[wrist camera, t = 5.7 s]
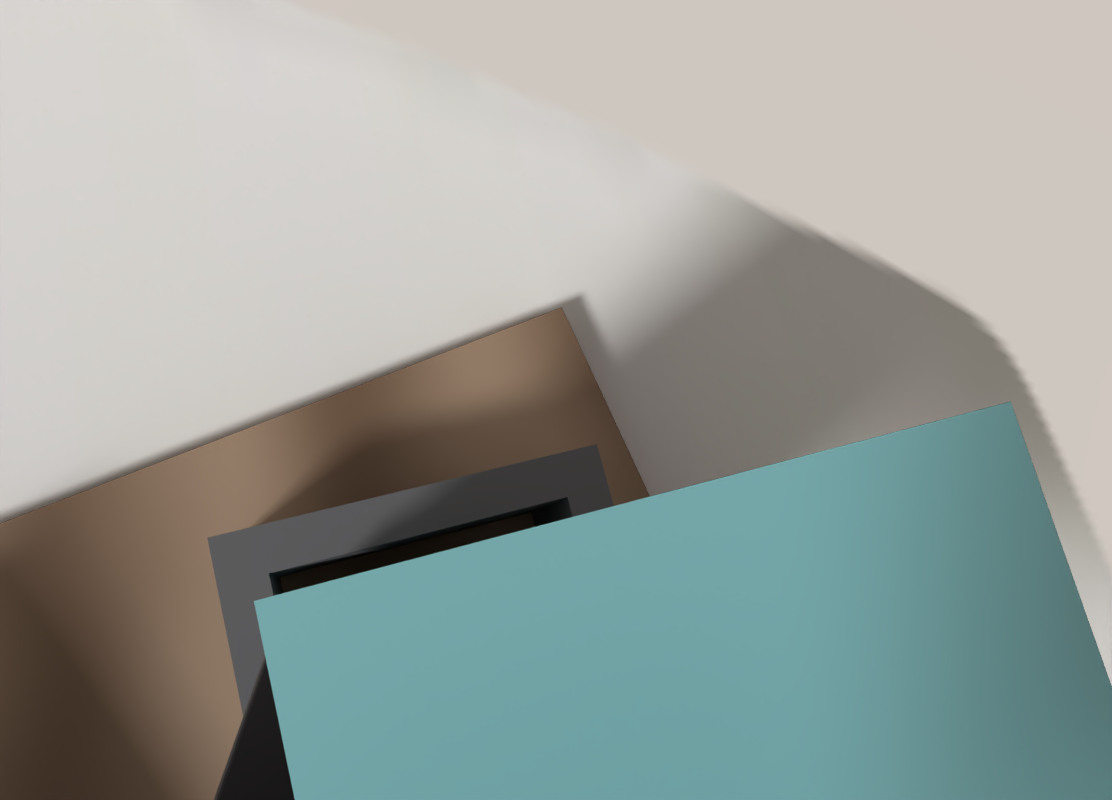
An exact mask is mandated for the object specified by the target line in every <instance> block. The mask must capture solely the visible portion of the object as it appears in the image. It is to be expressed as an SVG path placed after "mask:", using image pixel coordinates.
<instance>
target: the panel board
mask: <svg viewBox="0 0 1112 800" xmlns="http://www.w3.org/2000/svg"><path fill="white" fill-rule="evenodd" d="M595 444H597V447H598V450H599V454H600V457H601V461H602V465H603V468H604V472H605V476H606V479H607V483H608V487H609V490H610V494H611V498H612V501H613V505H614V506H616V505H620V504H624V503H628V502H631V501H635V500H639V499H643V498H647V497H650V496H649V494H648V492H647V489H646V487H645V485H644V483H643V481H642V479H641V477H640V474H639V472H638V470H637V468H636V466H635V464H634V462H633V459H632V457H631V455H630V453H629V451H628V449H627V447H626V444H625V442H624V440H623V438H622V436H621V434H620V432H619V429H618V427H617V425H616V423H615V421H614V419H613V416H612V414H611V412H610V410H609V408H608V406H607V404H606V401H605V399H604V397H603V395H602V393H601V391H600V389H599V386H598V384H597V382H596V380H595V378H594V376H593V374H592V371H591V369H590V367H589V365H588V363H587V361H586V359H585V356H584V354H583V352H582V350H581V348H580V346H579V343H578V341H577V339H576V337H575V335H574V333H573V331H572V328H571V326H570V324H569V322H568V320H567V318H566V316H565V313H564V311H563V309H562V308H559V309H556V310H554V311H551V312H549V313H546V314H543V315H541V316H538V317H536V318H533V319H530V320H528V321H525V322H523V323H520V324H517V325H515V326H512V327H510V328H507V329H504V330H502V331H499V332H497V333H494V334H491V335H489V336H486V337H484V338H481V339H478V340H476V341H473V342H471V343H468V344H465V345H463V346H460V347H458V348H455V349H453V350H450V351H447V352H445V353H442V354H440V355H437V356H434V357H432V358H429V359H427V360H424V361H421V362H419V363H416V364H414V365H411V366H408V367H406V368H403V369H401V370H398V371H395V372H393V373H390V374H388V375H385V376H382V377H380V378H377V379H375V380H372V381H369V382H367V383H364V384H362V385H359V386H356V387H354V388H351V389H349V390H346V391H343V392H341V393H338V394H336V395H333V396H330V397H328V398H325V399H323V400H320V401H317V402H315V403H312V404H310V405H307V406H304V407H302V408H299V409H297V410H294V411H291V412H289V413H286V414H284V415H281V416H278V417H276V418H273V419H271V420H268V421H265V422H263V423H260V424H258V425H255V426H252V427H250V428H247V429H245V430H242V431H239V432H237V433H234V434H232V435H229V436H226V437H224V438H221V439H219V440H216V441H213V442H211V443H208V444H206V445H203V446H200V447H198V448H195V449H193V450H190V451H187V452H185V453H182V454H180V455H177V456H174V457H172V458H169V459H167V460H164V461H161V462H159V463H156V464H154V465H151V466H148V467H146V468H143V469H141V470H138V471H135V472H133V473H130V474H128V475H125V476H122V477H120V478H117V479H115V480H112V481H109V482H107V483H104V484H102V485H99V486H96V487H94V488H91V489H89V490H86V491H83V492H81V493H78V494H76V495H73V496H70V497H68V498H65V499H63V500H60V501H57V502H55V503H52V504H50V505H47V506H44V507H42V508H39V509H37V510H34V511H31V512H29V513H26V514H24V515H21V516H18V517H16V518H13V519H11V520H8V521H5V522H3V523H0V800H214V798H215V795H216V792H217V789H218V786H219V783H220V781H221V778H222V775H223V772H224V769H225V766H226V764H227V761H228V758H229V755H230V752H231V749H232V747H233V744H234V741H235V738H236V735H237V732H238V730H239V727H240V724H241V721H242V718H243V713H242V708H241V703H240V698H239V693H238V688H237V683H236V678H235V674H234V669H233V664H232V659H231V654H230V649H229V644H228V639H227V634H226V629H225V624H224V619H223V614H222V609H221V604H220V599H219V594H218V589H217V584H216V579H215V574H214V569H213V564H212V559H211V554H210V549H209V544H208V539H207V538H208V537H212V536H216V535H220V534H224V533H228V532H233V531H237V530H241V529H245V528H249V527H253V526H258V525H262V524H266V523H270V522H274V521H278V520H283V519H287V518H291V517H295V516H299V515H303V514H308V513H312V512H316V511H320V510H324V509H328V508H333V507H337V506H341V505H345V504H349V503H353V502H358V501H362V500H366V499H370V498H374V497H378V496H383V495H387V494H391V493H395V492H399V491H403V490H408V489H412V488H416V487H420V486H424V485H428V484H433V483H437V482H441V481H445V480H449V479H453V478H458V477H462V476H466V475H470V474H474V473H478V472H483V471H487V470H491V469H495V468H499V467H503V466H508V465H512V464H516V463H520V462H524V461H528V460H533V459H537V458H541V457H545V456H549V455H553V454H557V453H562V452H566V451H570V450H574V449H578V448H582V447H587V446H591V445H595ZM533 527H535V524H534V520H533V516H532V512H530V513H526V514H522V515H519V516H515V517H511V518H507V519H503V520H499V521H495V522H492V523H488V524H484V525H480V526H476V527H472V528H468V529H464V530H461V531H457V532H453V533H449V534H445V535H441V536H437V537H433V538H430V539H426V540H422V541H418V542H414V543H410V544H406V545H403V546H399V547H395V548H391V549H387V550H383V551H379V552H375V553H372V554H368V555H364V556H360V557H356V558H352V559H348V560H345V561H341V562H337V563H333V564H329V565H325V566H321V567H317V568H314V569H310V570H306V571H302V572H298V573H294V574H290V575H286V576H283V577H280V581H281V586H282V590H283V593H286V592H290V591H294V590H297V589H301V588H305V587H309V586H313V585H316V584H320V583H324V582H328V581H332V580H335V579H339V578H343V577H347V576H351V575H354V574H358V573H362V572H366V571H370V570H373V569H377V568H381V567H385V566H389V565H392V564H396V563H400V562H404V561H408V560H411V559H415V558H419V557H423V556H426V555H430V554H434V553H438V552H442V551H445V550H449V549H453V548H457V547H461V546H464V545H468V544H472V543H476V542H480V541H483V540H487V539H491V538H495V537H499V536H502V535H506V534H510V533H514V532H518V531H521V530H525V529H529V528H533Z"/></svg>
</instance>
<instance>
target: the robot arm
mask: <svg viewBox="0 0 1112 800" xmlns="http://www.w3.org/2000/svg"><path fill="white" fill-rule="evenodd" d="M214 800H295V799H294V794H293V789H292V784H291V779H290V774H289V769H288V765H287V760H286V755H285V750H284V745H283V740H282V735H281V731H280V726H279V721H278V716H277V711H276V706H275V701H274V697H273V692H272V687H271V682H270V677H269V672H268V667H267V663H266V658H265V656H264V659H263V662H262V665H261V667H260V670H259V673H258V676H257V679H256V682H255V684H254V687H253V690H252V693H251V696H250V699H249V701H248V704H247V707H246V710H245V713H244V716H243V718H242V721H241V724H240V727H239V730H238V732H237V735H236V738H235V741H234V744H233V747H232V749H231V752H230V755H229V758H228V761H227V764H226V766H225V769H224V772H223V775H222V778H221V781H220V783H219V786H218V789H217V792H216V795H215V798H214Z"/></svg>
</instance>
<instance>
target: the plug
mask: <svg viewBox="0 0 1112 800" xmlns="http://www.w3.org/2000/svg"><path fill="white" fill-rule="evenodd" d="M254 604H255V609H256V614H257V619H258V624H259V629H260V633H261V638H262V643H263V648H264V653H265V658H266V663H267V667H268V672H269V677H270V682H271V687H272V692H273V697H274V701H275V706H276V711H277V716H278V721H279V726H280V731H281V735H282V740H283V745H284V750H285V755H286V760H287V765H288V769H289V774H290V779H291V784H292V789H293V794H294V799H295V800H1112V686H1111V683H1110V680H1109V678H1108V675H1107V672H1106V669H1105V666H1104V663H1103V661H1102V658H1101V655H1100V652H1099V649H1098V647H1097V644H1096V641H1095V638H1094V635H1093V632H1092V630H1091V627H1090V624H1089V621H1088V618H1087V616H1086V613H1085V610H1084V607H1083V604H1082V601H1081V599H1080V596H1079V593H1078V590H1077V587H1076V585H1075V582H1074V579H1073V576H1072V573H1071V570H1070V568H1069V565H1068V562H1067V559H1066V556H1065V554H1064V551H1063V548H1062V545H1061V542H1060V539H1059V537H1058V534H1057V531H1056V528H1055V525H1054V523H1053V520H1052V517H1051V514H1050V511H1049V508H1048V506H1047V503H1046V500H1045V497H1044V494H1043V492H1042V489H1041V486H1040V483H1039V480H1038V477H1037V475H1036V472H1035V469H1034V466H1033V463H1032V461H1031V458H1030V455H1029V452H1028V449H1027V446H1026V444H1025V441H1024V438H1023V435H1022V432H1021V430H1020V427H1019V424H1018V421H1017V418H1016V415H1015V413H1014V410H1013V407H1012V404H1011V402H1007V403H1003V404H999V405H996V406H992V407H988V408H984V409H980V410H977V411H973V412H969V413H965V414H962V415H958V416H954V417H950V418H946V419H943V420H939V421H935V422H931V423H927V424H924V425H920V426H916V427H912V428H908V429H905V430H901V431H897V432H893V433H889V434H886V435H882V436H878V437H874V438H870V439H867V440H863V441H859V442H855V443H851V444H848V445H844V446H840V447H836V448H832V449H829V450H825V451H821V452H817V453H814V454H810V455H806V456H802V457H798V458H795V459H791V460H787V461H783V462H779V463H776V464H772V465H768V466H764V467H760V468H757V469H753V470H749V471H745V472H741V473H738V474H734V475H730V476H726V477H722V478H719V479H715V480H711V481H707V482H703V483H700V484H696V485H692V486H688V487H685V488H681V489H677V490H673V491H669V492H666V493H662V494H658V495H654V496H650V497H647V498H643V499H639V500H635V501H631V502H628V503H624V504H620V505H616V506H612V507H609V508H605V509H601V510H597V511H593V512H590V513H586V514H582V515H578V516H574V517H571V518H567V519H563V520H559V521H556V522H552V523H548V524H544V525H540V526H537V527H533V528H529V529H525V530H521V531H518V532H514V533H510V534H506V535H502V536H499V537H495V538H491V539H487V540H483V541H480V542H476V543H472V544H468V545H464V546H461V547H457V548H453V549H449V550H445V551H442V552H438V553H434V554H430V555H426V556H423V557H419V558H415V559H411V560H408V561H404V562H400V563H396V564H392V565H389V566H385V567H381V568H377V569H373V570H370V571H366V572H362V573H358V574H354V575H351V576H347V577H343V578H339V579H335V580H332V581H328V582H324V583H320V584H316V585H313V586H309V587H305V588H301V589H297V590H294V591H290V592H286V593H282V594H279V595H275V596H271V597H267V598H263V599H260V600H256V601H254Z"/></svg>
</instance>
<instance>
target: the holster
mask: <svg viewBox="0 0 1112 800" xmlns="http://www.w3.org/2000/svg"><path fill="white" fill-rule="evenodd" d="M612 506H614V505H613V501H612V498H611V494H610V490H609V487H608V483H607V479H606V476H605V472H604V468H603V465H602V461H601V457H600V454H599V450H598V447H597V444H595V445H591V446H587V447H582V448H578V449H574V450H570V451H566V452H562V453H557V454H553V455H549V456H545V457H541V458H537V459H533V460H528V461H524V462H520V463H516V464H512V465H508V466H503V467H499V468H495V469H491V470H487V471H483V472H478V473H474V474H470V475H466V476H462V477H458V478H453V479H449V480H445V481H441V482H437V483H433V484H428V485H424V486H420V487H416V488H412V489H408V490H403V491H399V492H395V493H391V494H387V495H383V496H378V497H374V498H370V499H366V500H362V501H358V502H353V503H349V504H345V505H341V506H337V507H333V508H328V509H324V510H320V511H316V512H312V513H308V514H303V515H299V516H295V517H291V518H287V519H283V520H278V521H274V522H270V523H266V524H262V525H258V526H253V527H249V528H245V529H241V530H237V531H233V532H228V533H224V534H220V535H216V536H212V537H208V538H207V539H208V544H209V549H210V554H211V559H212V564H213V569H214V574H215V579H216V584H217V589H218V594H219V599H220V604H221V609H222V614H223V619H224V624H225V629H226V634H227V639H228V644H229V649H230V654H231V659H232V664H233V669H234V674H235V678H236V683H237V688H238V693H239V698H240V703H241V708H242V713H243V716H244V713H245V710H246V707H247V704H248V701H249V699H250V696H251V693H252V690H253V687H254V684H255V682H256V679H257V676H258V673H259V670H260V667H261V665H262V662H263V659H264V656H265V653H264V648H263V643H262V638H261V633H260V629H259V624H258V619H257V614H256V609H255V604H254V601H256V600H260V599H263V598H267V597H271V596H275V595H279V594H282V593H283V590H282V586H281V581H280V577H283V576H286V575H290V574H294V573H298V572H302V571H306V570H310V569H314V568H317V567H321V566H325V565H329V564H333V563H337V562H341V561H345V560H348V559H352V558H356V557H360V556H364V555H368V554H372V553H375V552H379V551H383V550H387V549H391V548H395V547H399V546H403V545H406V544H410V543H414V542H418V541H422V540H426V539H430V538H433V537H437V536H441V535H445V534H449V533H453V532H457V531H461V530H464V529H468V528H472V527H476V526H480V525H484V524H488V523H492V522H495V521H499V520H503V519H507V518H511V517H515V516H519V515H522V514H526V513H530V512H532V516H533V520H534V524H535V527H537V526H540V525H544V524H548V523H552V522H556V521H559V520H563V519H567V518H571V517H574V516H578V515H582V514H586V513H590V512H593V511H597V510H601V509H605V508H609V507H612Z"/></svg>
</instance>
